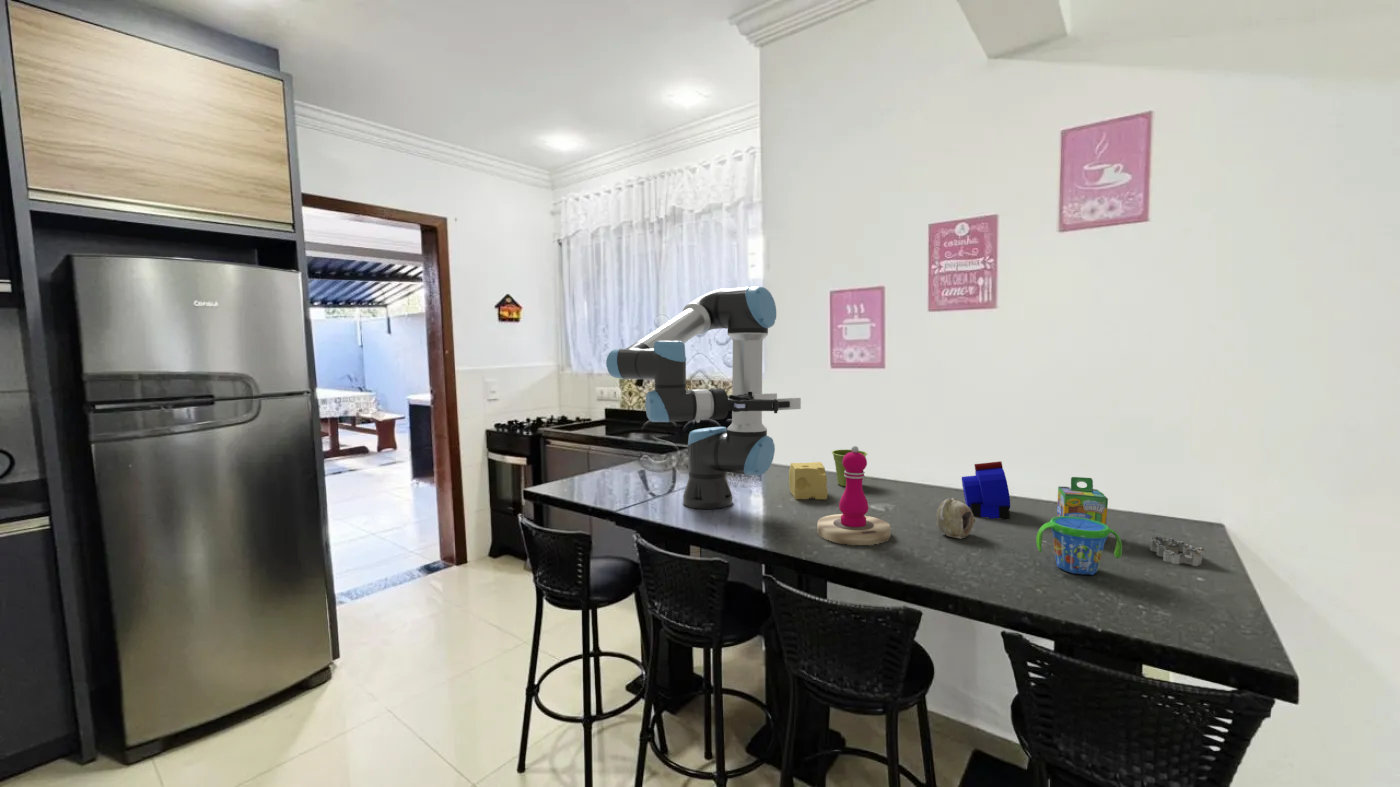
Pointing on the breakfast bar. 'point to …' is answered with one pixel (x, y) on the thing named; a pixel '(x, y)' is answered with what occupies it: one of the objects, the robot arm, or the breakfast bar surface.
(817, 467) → the cheese
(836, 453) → the plant pot
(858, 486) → the pepper mill
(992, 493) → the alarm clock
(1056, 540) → the snack cup
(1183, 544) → the egg carton
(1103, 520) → the chalk box
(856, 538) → the oak base
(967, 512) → the sea shell
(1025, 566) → the breakfast bar surface
